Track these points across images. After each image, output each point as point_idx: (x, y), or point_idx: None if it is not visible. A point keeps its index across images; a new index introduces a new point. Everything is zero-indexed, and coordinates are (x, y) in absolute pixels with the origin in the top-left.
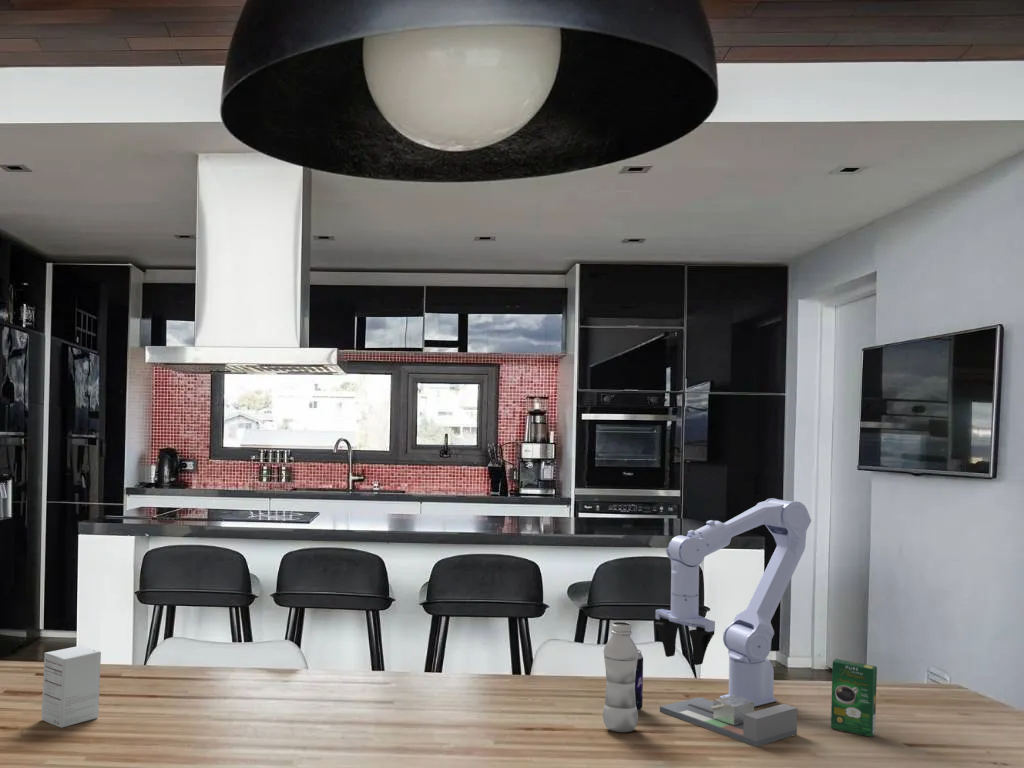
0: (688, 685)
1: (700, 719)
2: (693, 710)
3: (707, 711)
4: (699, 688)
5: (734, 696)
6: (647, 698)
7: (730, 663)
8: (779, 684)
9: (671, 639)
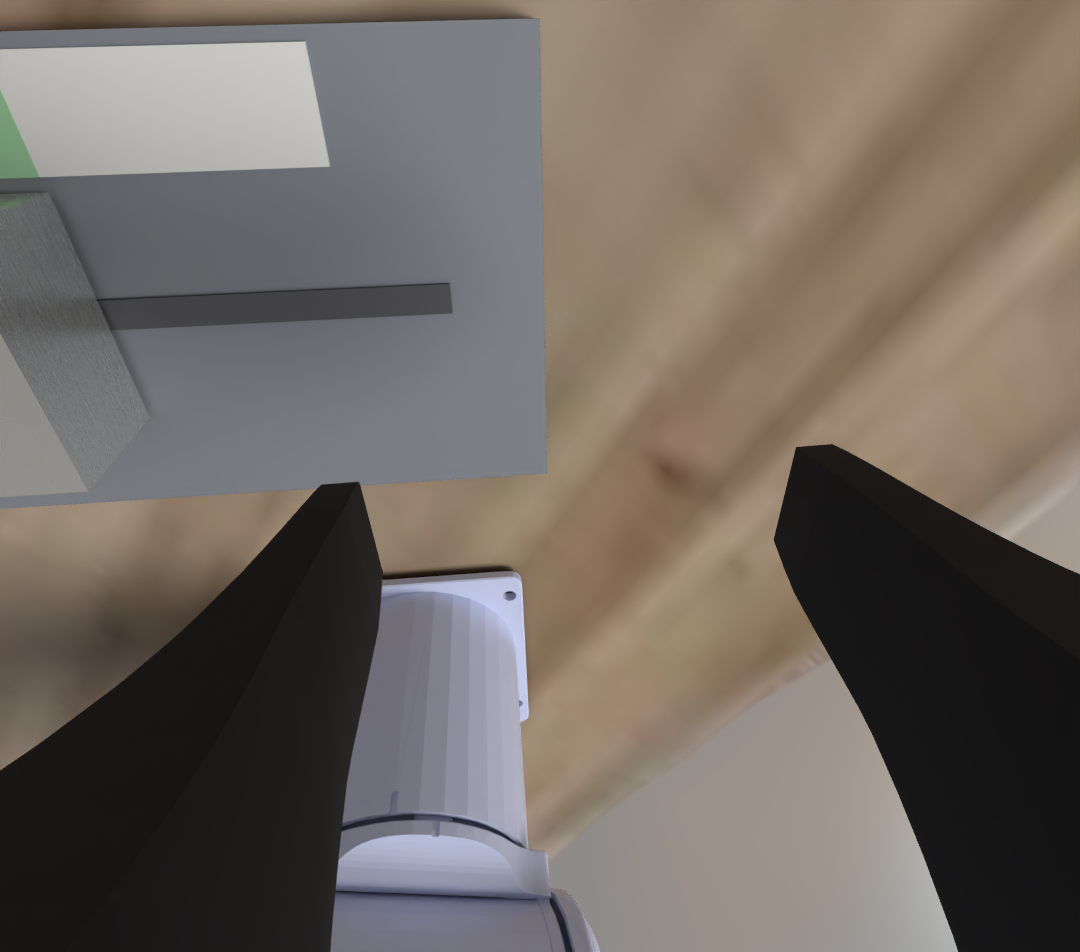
0: (777, 586)
1: (44, 56)
2: (319, 218)
3: (248, 292)
4: (707, 597)
5: (43, 472)
6: (819, 205)
7: (457, 783)
8: (535, 826)
9: (902, 673)
